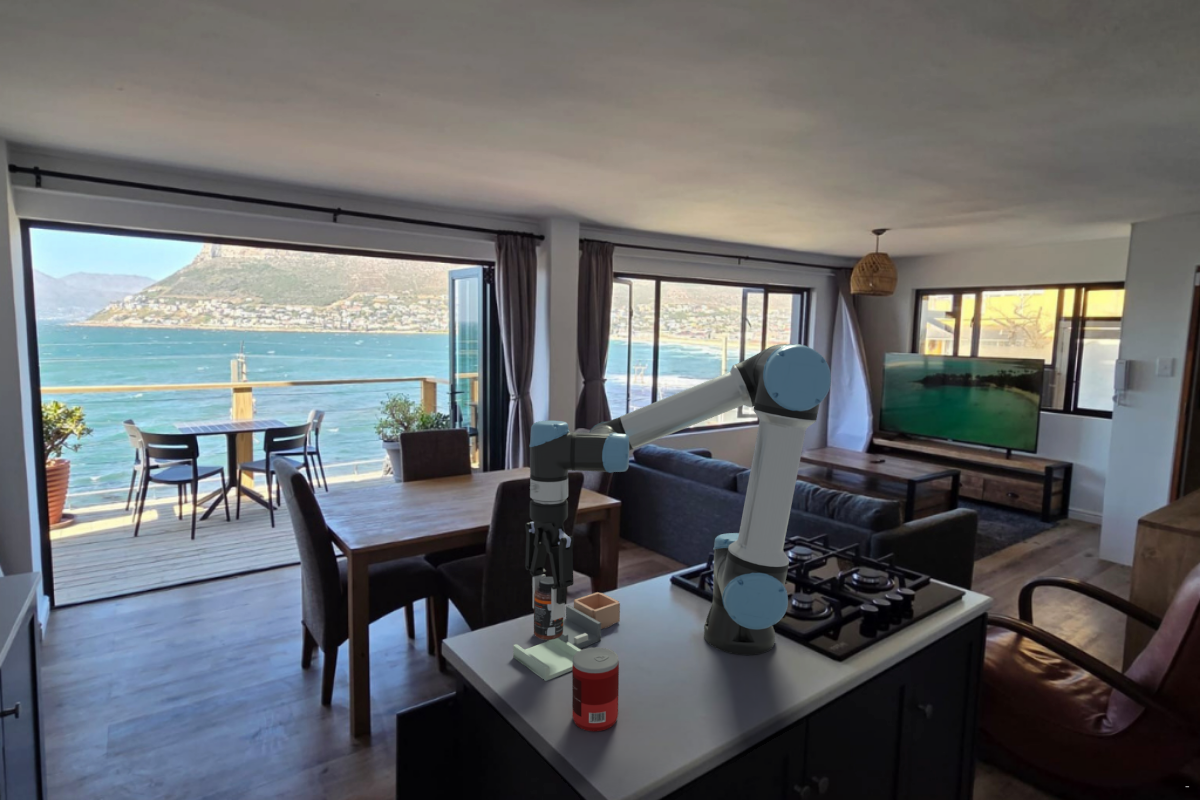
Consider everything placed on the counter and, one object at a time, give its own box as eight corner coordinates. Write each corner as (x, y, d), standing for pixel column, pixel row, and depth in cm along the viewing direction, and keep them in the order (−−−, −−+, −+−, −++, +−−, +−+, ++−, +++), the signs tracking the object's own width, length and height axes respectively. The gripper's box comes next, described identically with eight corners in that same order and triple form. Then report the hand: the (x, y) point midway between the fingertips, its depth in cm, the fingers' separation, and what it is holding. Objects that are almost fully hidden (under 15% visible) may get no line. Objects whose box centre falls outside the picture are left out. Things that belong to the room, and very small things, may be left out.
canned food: (627, 717, 109) (628, 656, 108) (596, 739, 103) (596, 674, 102) (594, 700, 114) (594, 642, 113) (563, 720, 108) (563, 658, 107)
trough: (585, 665, 126) (585, 652, 126) (545, 681, 120) (545, 668, 120) (551, 643, 135) (551, 631, 135) (513, 657, 129) (513, 645, 129)
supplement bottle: (559, 642, 124) (559, 587, 123) (530, 639, 125) (530, 584, 124) (566, 629, 130) (566, 575, 128) (538, 626, 131) (538, 573, 129)
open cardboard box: (620, 622, 145) (621, 602, 145) (594, 632, 140) (594, 611, 140) (598, 611, 151) (599, 591, 151) (572, 620, 146) (572, 600, 146)
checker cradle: (600, 640, 137) (600, 622, 136) (565, 654, 130) (565, 635, 130) (568, 621, 145) (568, 605, 145) (533, 634, 139) (533, 616, 139)
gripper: (507, 492, 129) (507, 601, 132) (561, 512, 115) (560, 634, 117) (537, 487, 134) (537, 592, 136) (593, 506, 120) (592, 623, 122)
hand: (548, 611), depth 127 cm, fingers closed on supplement bottle, 6 cm apart
